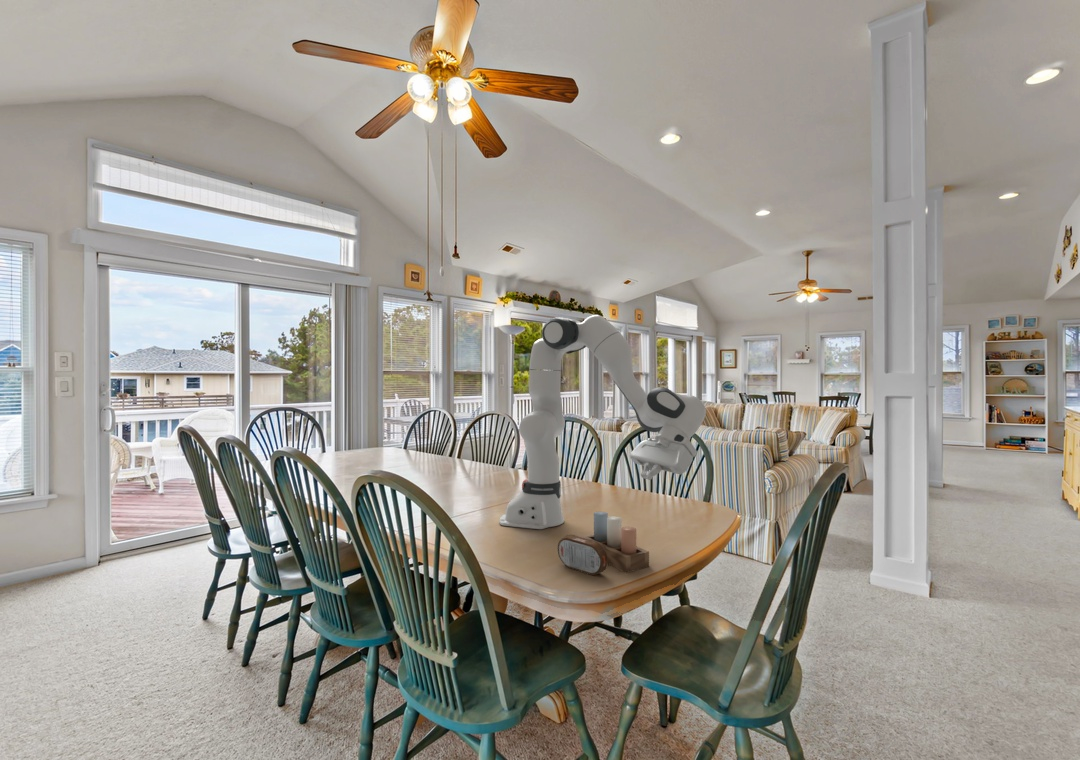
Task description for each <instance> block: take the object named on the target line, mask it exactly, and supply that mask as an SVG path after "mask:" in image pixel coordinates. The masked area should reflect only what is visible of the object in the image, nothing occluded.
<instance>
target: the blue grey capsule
mask: <svg viewBox="0 0 1080 760" xmlns="http://www.w3.org/2000/svg"><path fill="white" fill-rule="evenodd" d="M607 517H609V513H608V512H606V511H595V512H594V513H593V535H594V540H595V541H598V542H603V541H607Z"/></svg>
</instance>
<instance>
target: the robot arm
mask: <svg viewBox="0 0 1080 760" xmlns="http://www.w3.org/2000/svg"><path fill="white" fill-rule="evenodd" d="M541 336H542V338H539V339H537V340H535V341H534V342H533V344H532V347H531V350H530V351H531V353H530V356H529V357H530V358H529V367H528V368H529V370H528V371H529V372H528V374H529V375H528V393H529V396H530V399H531V404H532V411H531V412H528V414H526V415H525V416H523V418H522V419H521V420H520V423H519V426H518V430H519V434H520V437H521V438H522V439H523V443H524V448H525V453H526V461H527V479H523V481H522V483H521V488H522V489H521V492H520V493H518V494H517V495H516V496H515V497H513V498H512V499H511V500H510V501H509V502H508V504H507V507H506V510H505V513H504V514H502V515H501V516H500V518H499V525H501V526H503V527H504V526H506V527H515V528H523V529H532V530H535V529H536V530H545V529H546V528H551V527H552V528H553V527H556V526H557V527H558V526H560V525H562V524H563V523H565V519H564V515H563V511H562V510H563V509H562V503H561V496H562V483H561V480H560V457H559V455H558V453H557V449H556V443H555V439H556V438H558V437H559V436H560V435H561V434H562V432H563V431H564V429H565V426H566V421H565V420H566V419H565V417H564V412H563V411H564V410H563V405H562V398H561V397H562V396H561V395H562V394H561V381H562V380H561V379H562V378H561V377H562V359H563V357H564V355H565V354H567V355H570V354H572V353H575V352H579V351H582V350H583V349H585V348H588V349H589V350H590V352H591V353H592V354H593V356H594V357H595V358H596V359H597V361H598V362H599V363H600V364H601V365H602V367H603V368H604V369H605V371H607V373H608V375H609V376H610V377H611V379H612V381H613V382H614V384H615V385H616V387H617V388H618V389H619V391H620V393H621V394H622V395H623V396H624V398H625V399H626V400H627V402H628V404H630V406H631V407H632V409H633V410H634V414H635V416H636V419H637V422H638V424H639V425H640V427H641V428H643V430H646V431H647V432H649V433H657V434H656V436H655V437H654V438H652V437H650V438H649V437H648V438H647V439H644V440H642V441H640V442H639V443H638V444H637V445H636V446H635V448H633V450H632V451H631V452H630V455H629V458H630V459H631V461H632V462H633V463H634V464H635V465H641V466H643V469H642V472H641V473H640V477H641V478H642V479H644V480H647V481H651V480H652V479H653V477H655V476H656V475H658V474H659V473H661V471H664V472H668V473H672V474H677V475H683V474H684V473H686V472H687V470H688V469H689V467H690V466H691V464H692V463H693V460H694V458H695V457H696V456H697V454H698V451H697V449H696V448H695V446H694V445H693V443H692V442H691V438H692V437H693V435H695V434H696V433H697V432H698V430H699V429H700V427H701V425H702V423H703V422H704V420H705V418H706V415H707V409H706V405H705V404H704V403H703V400H701V399H700V398H698V397H697V396H695V395H693V394H692V395H691V394H689V395H688V394H687V395H684V394H679V393H677V392H674V391H673V390H671V389H669V388H667V387H664V386H663V387H662V386H659V387H654V388H653V389H650V391H649V392H648V394H647V392H646V391H645V390H644V388H643V387H642V386H641V384H640V383H639V382H638V380H637V379H636V377H635V375H634V374H635V373H634V370H633V351H632V347H631V346H630V343H629V342H628V340H627V339H626V337H624V335H623V334H622V333H621V332H620V331H619V330H618V329H617V328H616V327H615V326H614V325H613V324H612V323H611V322H610V321H608V320H607V319H606V318H604V317H603V316H602V315H599V314H592V315H590V316H588V317H586V318H585V319H584V320H583V321H581V320H578V319H575V318H572V317H562V316H560V317H559V316H557V317H553V318H550V319H548V320H547V321H546V322H545V323H544V325H543V326H542V330H541Z"/></svg>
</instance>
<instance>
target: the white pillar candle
mask: <svg viewBox="0 0 1080 760" xmlns="http://www.w3.org/2000/svg"><path fill="white" fill-rule="evenodd" d="M622 519H623V518H622V517H620V516H615V515H614V516H613V515H612V516H608V517H607V546H609V547H611V548H617V547H621V528H623V526H622V524H623V523H622V521H623V520H622Z"/></svg>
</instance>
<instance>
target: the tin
mask: <svg viewBox="0 0 1080 760" xmlns="http://www.w3.org/2000/svg"><path fill="white" fill-rule="evenodd" d="M557 554H558V558H559V560H560V561H561V562H562V564H563V565H564V566H565V567H567V568H569V567H570V568H569V569H573V570H575V569H576V571H578V570H579V572H581V571H582V572H581V573H584V572H585V574H587V573H588V575H590V574H591V576H596V575H598V574H600V573H602V572H604V571H606V569H607V568H608V565H609V564H608V556H607V553H606V551H605V549H604V548H603V546H602V545H601V544H599V543H598V542H596V541H593V540H589V539H586V538H582V536H578V535H575V534H567V535H566V536H564V537H562V538H561V539H560V540H559V542H558V543H557Z"/></svg>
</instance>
